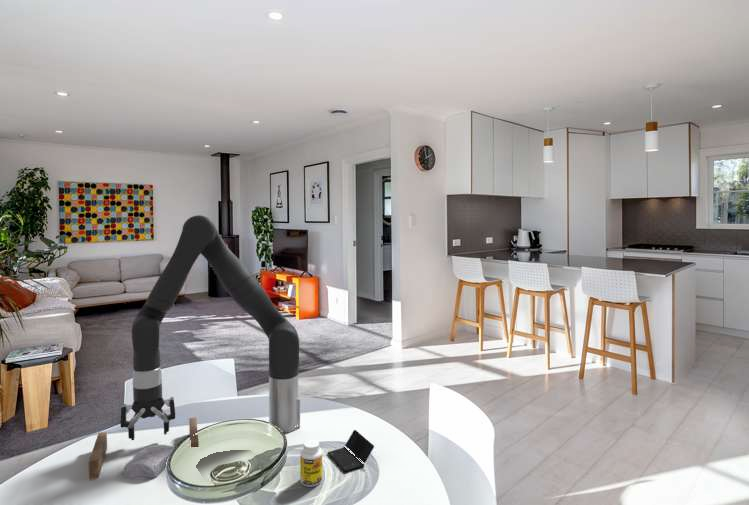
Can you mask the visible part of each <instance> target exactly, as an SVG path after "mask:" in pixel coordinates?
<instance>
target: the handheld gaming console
mask: <svg viewBox="0 0 749 505" xmlns="http://www.w3.org/2000/svg"><path fill="white" fill-rule="evenodd" d="M344 446H346V447H347V448H349V449H350V450H351V451H352V452H353V453H354V454H355V456H354V455H353V454H351V453H350V452H349V451H350V450H349V451H348V450H347V449H346V448H345V447H344ZM344 446H343V447H340V448H337V449H333V450H331V451H327V456H328V457H329V458H330V459H331V461H333V462H334V463H335V465H336V466H337V467H338V468H339V469H341V471H343V472H342V473H344V474H347V473H351V472H353V471H357V470H360V469H363V468H365V464H366V462H367V461H368V459H369V457H370V455H371V454H372V452H373V450H374V449H375V445H374V444H373V443H372V442H370V440H368V439H367V438H365V436H363V435H362V434H361V433H360V432H359V431H358V430H356V429H354V430H353V431H352V433H351V435H350V436H349V438H348V440H347V442H346V443H345V445H344ZM356 457H357V458H358V459H359V458H360V459H361V460H362V461H363V462H364V463H365V464H362V463H361V462H362V461H361V460H360V459H359V460H360V461H361V462H360V461H359V460H358V459H357V458H356Z"/></svg>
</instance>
